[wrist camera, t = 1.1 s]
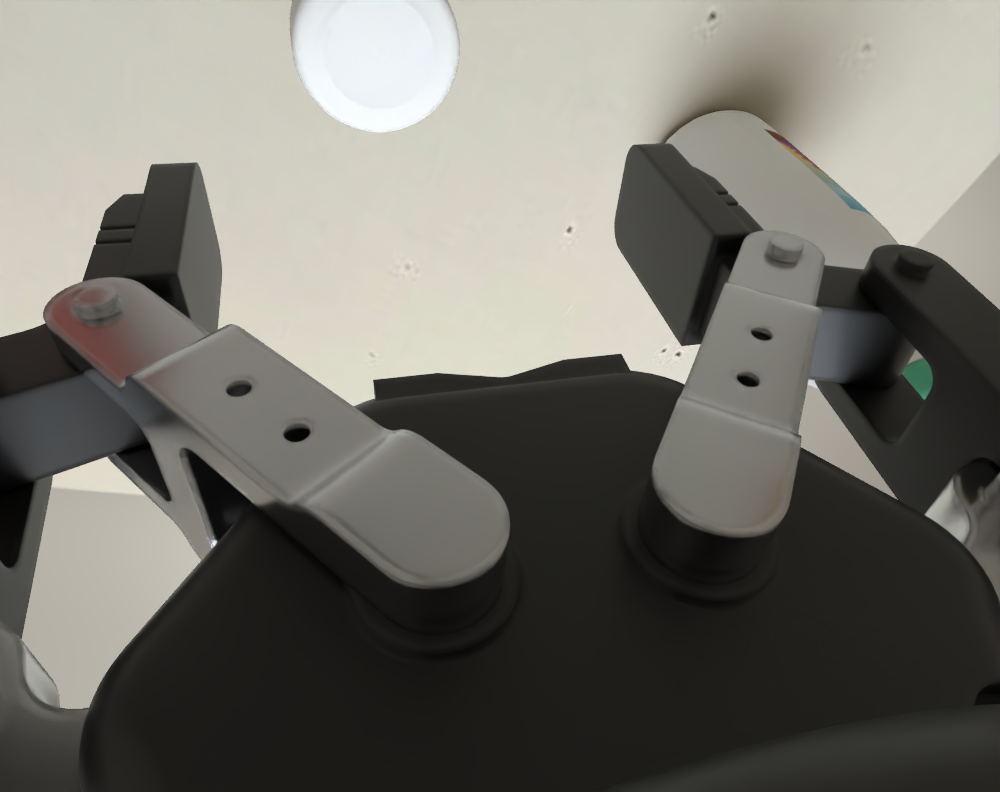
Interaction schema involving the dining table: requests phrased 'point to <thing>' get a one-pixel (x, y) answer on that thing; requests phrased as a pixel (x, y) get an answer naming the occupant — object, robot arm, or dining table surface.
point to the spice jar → (375, 58)
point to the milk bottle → (788, 196)
